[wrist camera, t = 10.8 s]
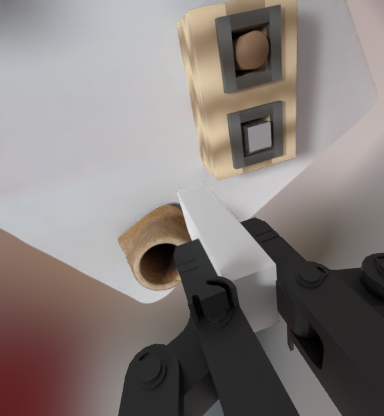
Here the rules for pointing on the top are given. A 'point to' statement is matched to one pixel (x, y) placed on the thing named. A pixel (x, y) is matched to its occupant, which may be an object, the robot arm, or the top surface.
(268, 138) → the metal pin
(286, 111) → the oak block
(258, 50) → the walnut dowel
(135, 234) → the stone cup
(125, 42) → the top surface
